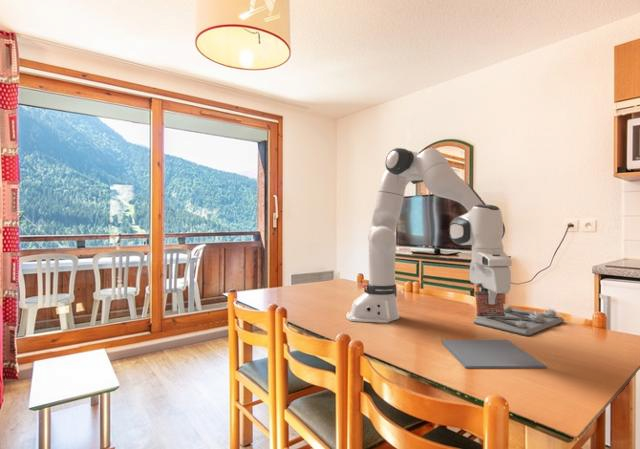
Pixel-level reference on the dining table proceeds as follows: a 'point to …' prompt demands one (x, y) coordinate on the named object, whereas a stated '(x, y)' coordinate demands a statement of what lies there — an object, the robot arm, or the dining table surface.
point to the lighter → (484, 307)
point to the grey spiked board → (521, 321)
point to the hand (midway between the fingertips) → (488, 302)
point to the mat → (490, 354)
